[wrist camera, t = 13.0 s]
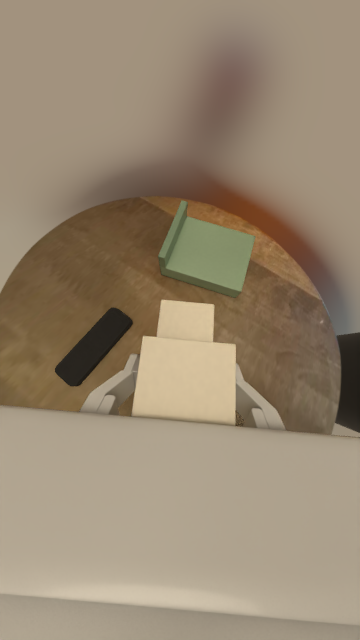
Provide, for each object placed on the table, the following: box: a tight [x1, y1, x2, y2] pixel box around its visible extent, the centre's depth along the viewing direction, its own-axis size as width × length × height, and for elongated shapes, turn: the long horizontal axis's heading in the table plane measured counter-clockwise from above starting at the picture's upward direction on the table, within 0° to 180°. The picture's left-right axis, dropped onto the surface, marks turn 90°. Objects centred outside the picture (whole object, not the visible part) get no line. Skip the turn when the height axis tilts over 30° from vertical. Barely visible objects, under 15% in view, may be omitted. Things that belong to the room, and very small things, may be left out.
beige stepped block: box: [131, 300, 236, 426], centre depth 12 cm, size 8×5×9 cm, turn 175°
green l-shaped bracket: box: [158, 201, 255, 298], centre depth 31 cm, size 16×13×6 cm
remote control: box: [55, 308, 132, 386], centre depth 28 cm, size 5×2×15 cm
